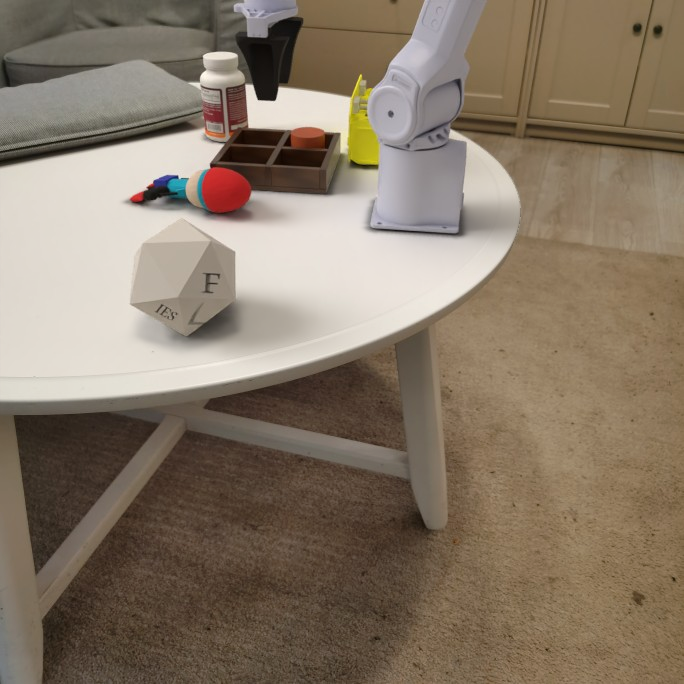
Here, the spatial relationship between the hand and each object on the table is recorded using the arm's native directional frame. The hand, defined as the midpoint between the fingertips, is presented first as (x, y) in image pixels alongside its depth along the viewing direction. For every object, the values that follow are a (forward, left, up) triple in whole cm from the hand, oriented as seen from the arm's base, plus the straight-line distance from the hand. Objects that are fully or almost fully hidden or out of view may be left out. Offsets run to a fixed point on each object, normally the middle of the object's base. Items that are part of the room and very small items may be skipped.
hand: (273, 91), depth 84 cm
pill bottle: (+10, -14, -11) cm, 20 cm away
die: (+1, +34, -11) cm, 36 cm away
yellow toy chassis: (-11, -12, -11) cm, 19 cm away
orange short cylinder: (-3, -5, -10) cm, 11 cm away
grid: (0, -2, -10) cm, 11 cm away
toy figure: (+7, +10, -11) cm, 17 cm away
